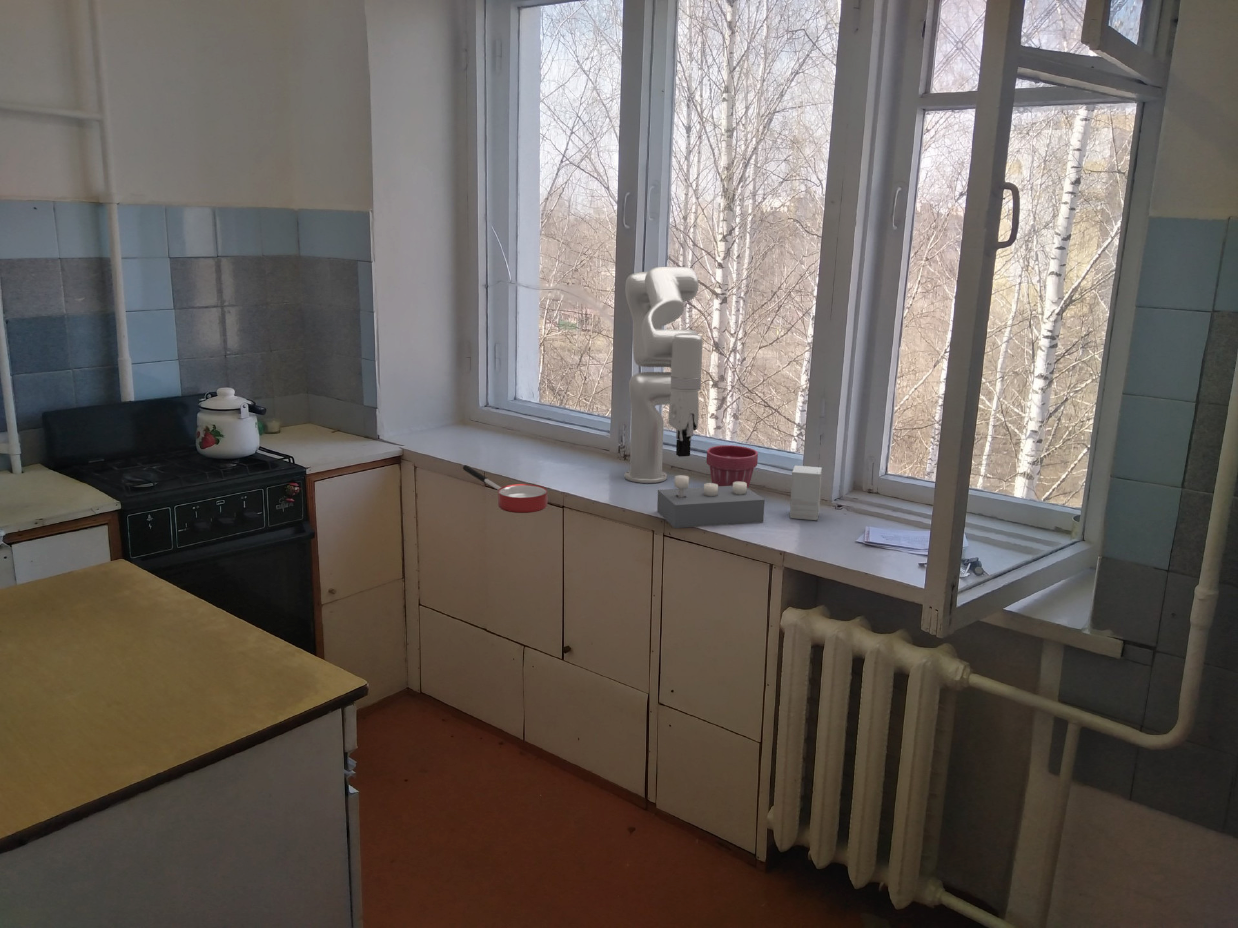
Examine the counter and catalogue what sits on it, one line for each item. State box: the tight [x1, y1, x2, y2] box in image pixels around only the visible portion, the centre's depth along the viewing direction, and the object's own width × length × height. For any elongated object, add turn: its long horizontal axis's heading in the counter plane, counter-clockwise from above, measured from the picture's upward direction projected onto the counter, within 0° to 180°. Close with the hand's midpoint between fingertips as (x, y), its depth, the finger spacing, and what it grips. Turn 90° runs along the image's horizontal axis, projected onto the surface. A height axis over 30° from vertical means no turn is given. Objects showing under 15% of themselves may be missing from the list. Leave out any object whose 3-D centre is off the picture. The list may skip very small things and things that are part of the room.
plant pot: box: [705, 444, 759, 489], centre depth 266 cm, size 14×14×13 cm
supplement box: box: [789, 465, 823, 521], centre depth 249 cm, size 7×7×13 cm
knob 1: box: [674, 474, 690, 498], centre depth 243 cm, size 4×4×7 cm
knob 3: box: [732, 481, 747, 495], centre depth 248 cm, size 4×4×7 cm
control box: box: [656, 486, 765, 529], centre depth 247 cm, size 14×24×6 cm, turn 106°
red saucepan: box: [462, 464, 548, 514], centre depth 258 cm, size 32×13×6 cm, turn 51°
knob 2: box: [703, 482, 718, 496], centre depth 246 cm, size 4×4×7 cm
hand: (683, 455), depth 241 cm, fingers closed
